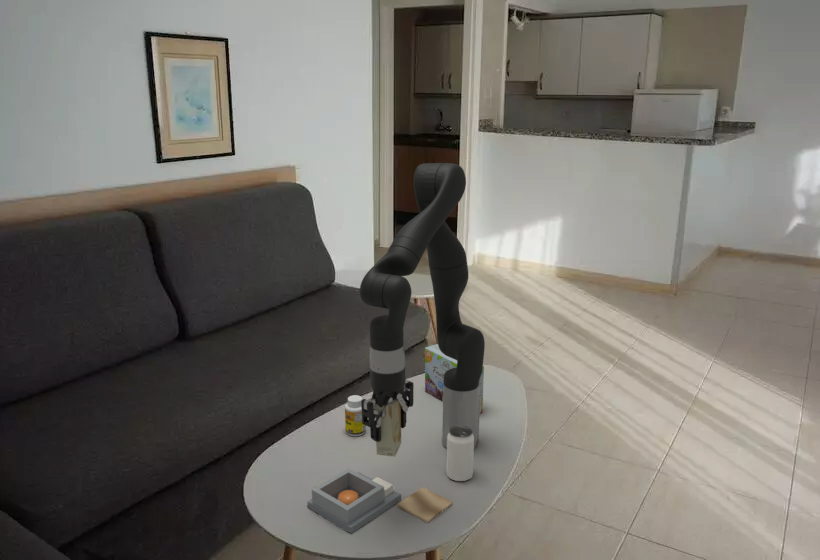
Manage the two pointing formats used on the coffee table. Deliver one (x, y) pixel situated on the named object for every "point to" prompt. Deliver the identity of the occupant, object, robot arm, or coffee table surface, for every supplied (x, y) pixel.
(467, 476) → the can
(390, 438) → the skincare box
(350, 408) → the supplement bottle
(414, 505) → the cork coaster
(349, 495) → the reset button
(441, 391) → the snack box
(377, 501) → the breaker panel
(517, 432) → the coffee table surface
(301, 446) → the coffee table surface
